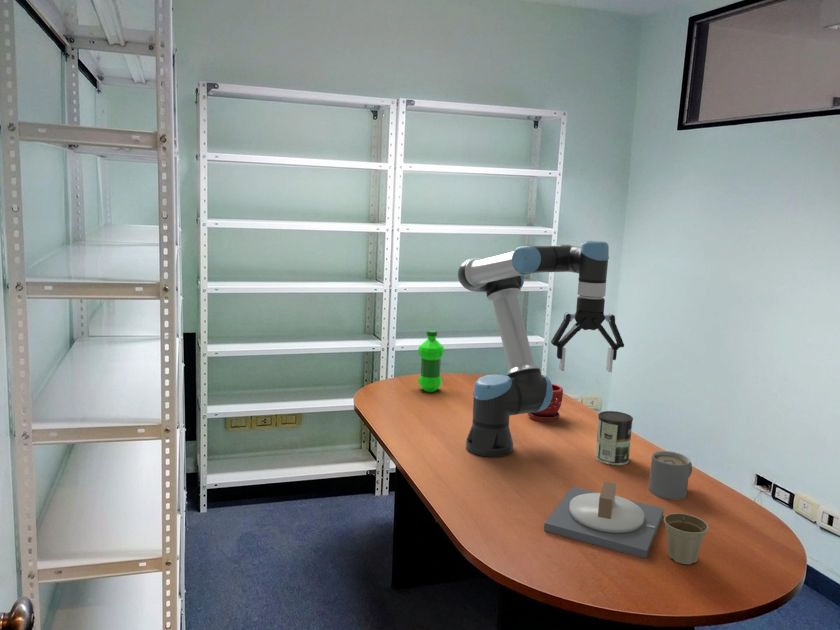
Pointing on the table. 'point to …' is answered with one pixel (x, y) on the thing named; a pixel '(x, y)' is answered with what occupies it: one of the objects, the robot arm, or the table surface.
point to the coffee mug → (669, 475)
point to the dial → (606, 511)
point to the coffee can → (613, 437)
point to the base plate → (623, 542)
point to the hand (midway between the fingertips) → (585, 370)
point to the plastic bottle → (430, 362)
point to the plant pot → (550, 406)
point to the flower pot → (684, 536)
